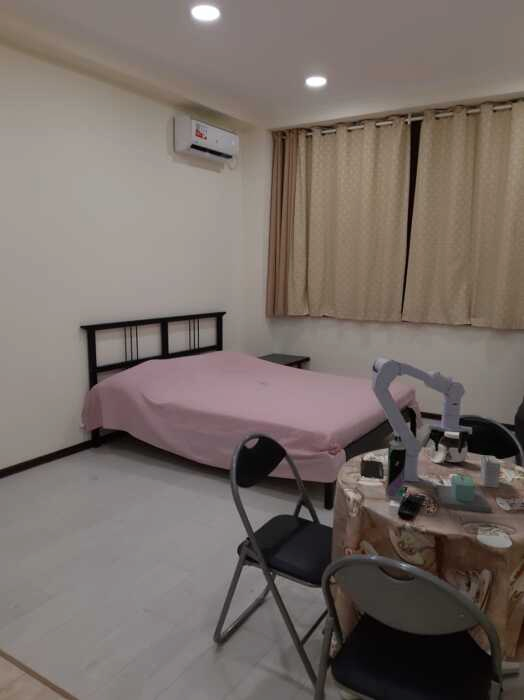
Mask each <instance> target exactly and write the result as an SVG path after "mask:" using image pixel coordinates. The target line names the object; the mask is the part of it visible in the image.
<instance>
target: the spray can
mask: <svg viewBox="0 0 524 700" xmlns="http://www.w3.org/2000/svg"><path fill="white" fill-rule="evenodd" d="M405 459H406V443H404V442H403V441H402V440H401V436H395V435H394V438H393V439H392V440H391V441H389V442H388V450H387V465H386V478H385V479H386V481H385V496H386V497H387V498H388V499H392V500H401V498H402V497H403V498H404V488H405V487H404V485H405V481H404V474H405ZM403 498H402V499H403Z"/></svg>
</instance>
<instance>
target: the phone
mask: <svg viewBox="0 0 524 700" xmlns="http://www.w3.org/2000/svg"><path fill="white" fill-rule="evenodd" d="M383 472H384V471H383V462H381V461H378V460H377V461H376V460H367V459H366V460H365V459H362V460H361V461H360V473H359V474H360V475H361V476H360V475H359V476H360V477H362V476H364V477H363V478H369V477H375V478H374V479H379V478H381V479H383V477H384V474H383Z"/></svg>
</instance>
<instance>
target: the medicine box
mask: <svg viewBox="0 0 524 700" xmlns="http://www.w3.org/2000/svg"><path fill="white" fill-rule="evenodd" d="M500 474H501V463H500V462H499V460H498V459H497V457H496V456H494V455H482V456H481V463H480V475H479V477H480V478H479V479H480V480H481V482H482V483H483V485H484V486H485V487H486V488H493V489H494V488H495V489H499V488H500V487H499V486H500Z"/></svg>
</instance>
